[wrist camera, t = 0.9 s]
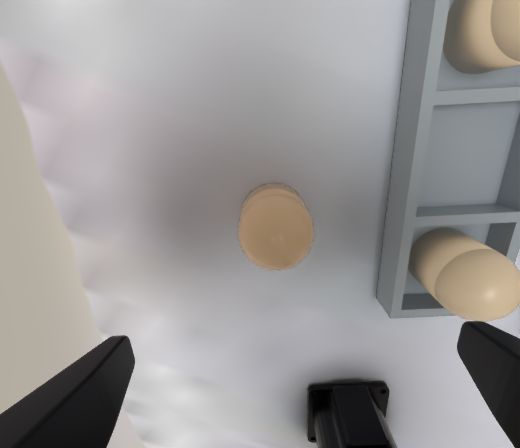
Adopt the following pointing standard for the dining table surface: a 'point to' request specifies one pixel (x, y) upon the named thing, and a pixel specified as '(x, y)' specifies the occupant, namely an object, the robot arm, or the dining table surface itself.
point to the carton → (455, 165)
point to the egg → (275, 227)
